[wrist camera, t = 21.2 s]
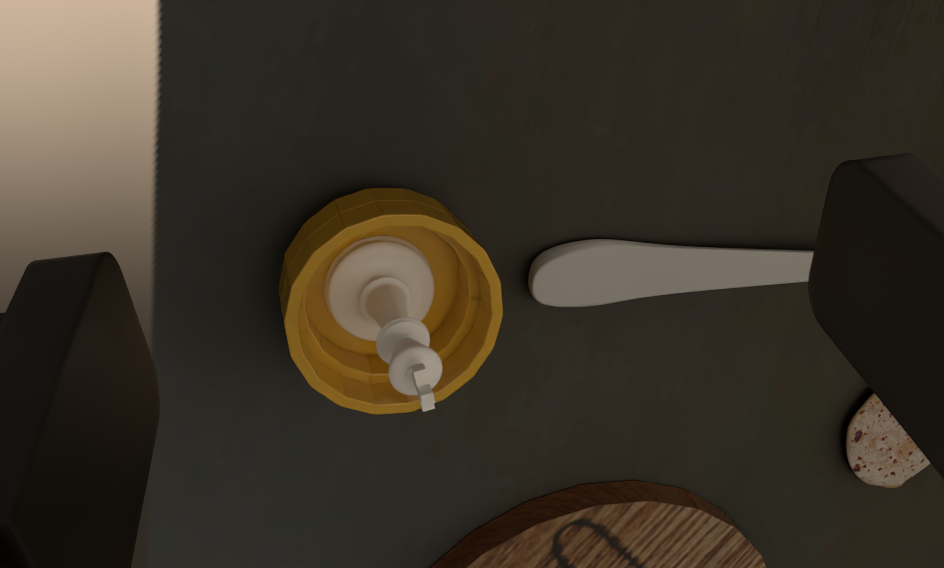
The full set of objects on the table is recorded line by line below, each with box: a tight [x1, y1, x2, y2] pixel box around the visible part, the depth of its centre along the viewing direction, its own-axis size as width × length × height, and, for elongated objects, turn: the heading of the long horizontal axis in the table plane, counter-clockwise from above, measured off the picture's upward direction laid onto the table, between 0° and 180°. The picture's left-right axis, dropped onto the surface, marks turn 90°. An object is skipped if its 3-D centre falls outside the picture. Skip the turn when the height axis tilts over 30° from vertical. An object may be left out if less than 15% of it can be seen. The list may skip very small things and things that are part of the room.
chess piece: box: [324, 236, 442, 412], centre depth 34 cm, size 5×5×10 cm
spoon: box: [528, 239, 814, 307], centre depth 45 cm, size 35×8×3 cm, turn 88°
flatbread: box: [846, 393, 930, 488], centre depth 51 cm, size 8×8×1 cm
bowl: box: [279, 188, 503, 414], centre depth 37 cm, size 9×9×4 cm
